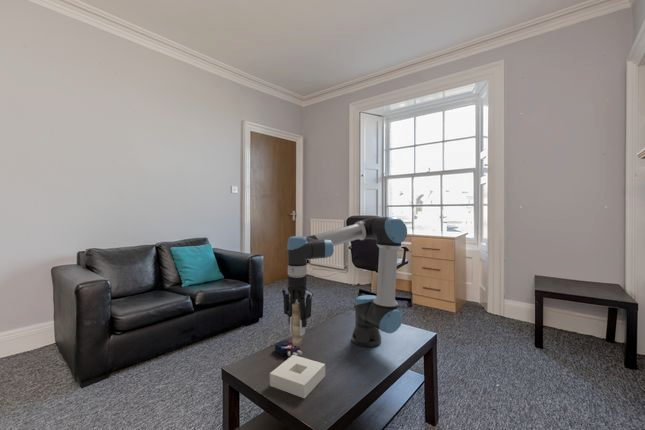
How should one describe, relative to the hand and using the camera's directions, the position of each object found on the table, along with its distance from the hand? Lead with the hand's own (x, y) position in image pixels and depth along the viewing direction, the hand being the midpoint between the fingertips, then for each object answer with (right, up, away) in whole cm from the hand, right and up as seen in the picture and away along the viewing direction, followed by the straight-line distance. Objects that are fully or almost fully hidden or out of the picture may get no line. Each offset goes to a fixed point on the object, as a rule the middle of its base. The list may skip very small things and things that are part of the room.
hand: (297, 333), depth 116 cm
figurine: (-6, -19, +22) cm, 30 cm away
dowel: (0, -4, 0) cm, 4 cm away
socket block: (0, -19, +1) cm, 19 cm away
